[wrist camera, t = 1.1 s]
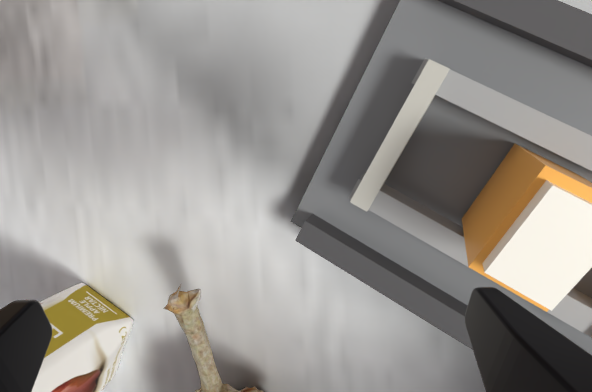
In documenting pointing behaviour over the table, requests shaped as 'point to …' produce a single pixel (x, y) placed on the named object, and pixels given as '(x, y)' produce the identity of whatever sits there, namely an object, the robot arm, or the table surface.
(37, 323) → the robot arm
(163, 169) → the table surface
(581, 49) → the grey rectangular base plate
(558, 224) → the toggle
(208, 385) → the pine cone
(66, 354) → the juice carton
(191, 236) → the table surface
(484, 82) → the grey rectangular tray
